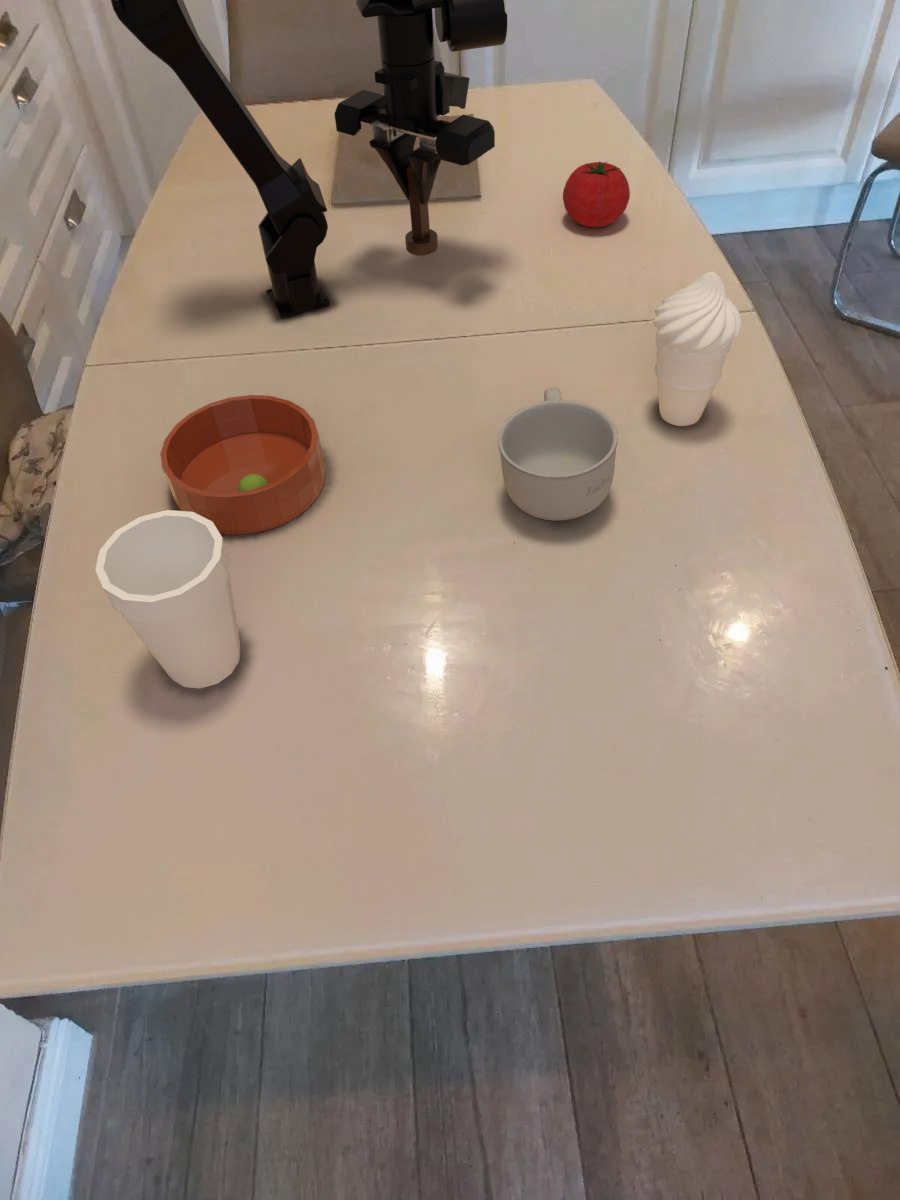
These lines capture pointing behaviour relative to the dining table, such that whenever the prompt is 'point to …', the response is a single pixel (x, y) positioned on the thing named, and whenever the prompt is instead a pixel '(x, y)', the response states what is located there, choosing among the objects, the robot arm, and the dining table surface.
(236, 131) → the robot arm
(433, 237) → the stir stick
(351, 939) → the dining table surface
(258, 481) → the grape
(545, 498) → the teacup
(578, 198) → the tomato
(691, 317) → the ice cream cone
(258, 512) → the bowl
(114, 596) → the foam cup
